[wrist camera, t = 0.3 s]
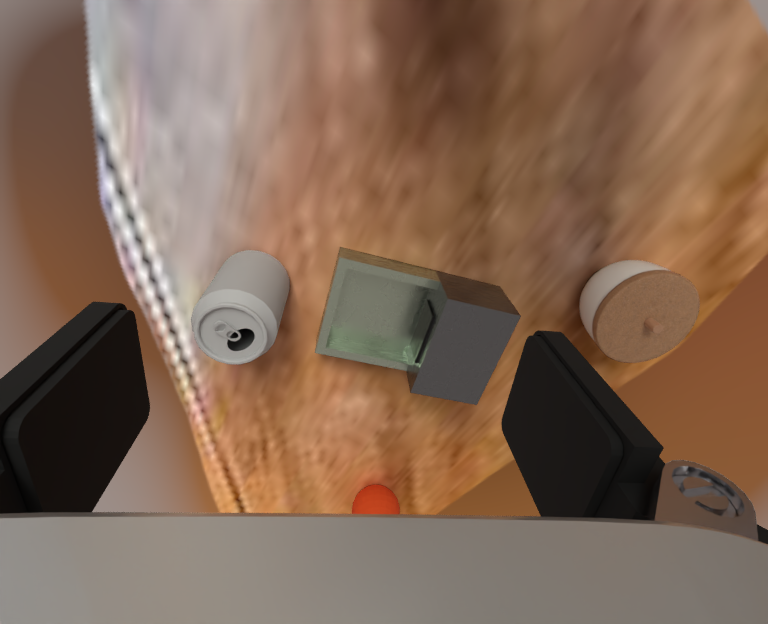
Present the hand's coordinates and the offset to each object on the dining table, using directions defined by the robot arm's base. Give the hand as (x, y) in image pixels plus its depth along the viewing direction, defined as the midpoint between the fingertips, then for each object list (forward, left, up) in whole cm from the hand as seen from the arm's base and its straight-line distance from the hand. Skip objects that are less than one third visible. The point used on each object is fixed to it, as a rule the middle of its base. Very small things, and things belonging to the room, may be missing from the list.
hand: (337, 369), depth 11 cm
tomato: (+47, +16, -36) cm, 61 cm away
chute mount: (+16, +11, -36) cm, 41 cm away
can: (+16, -6, -36) cm, 40 cm away
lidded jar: (+7, +34, -36) cm, 50 cm away
